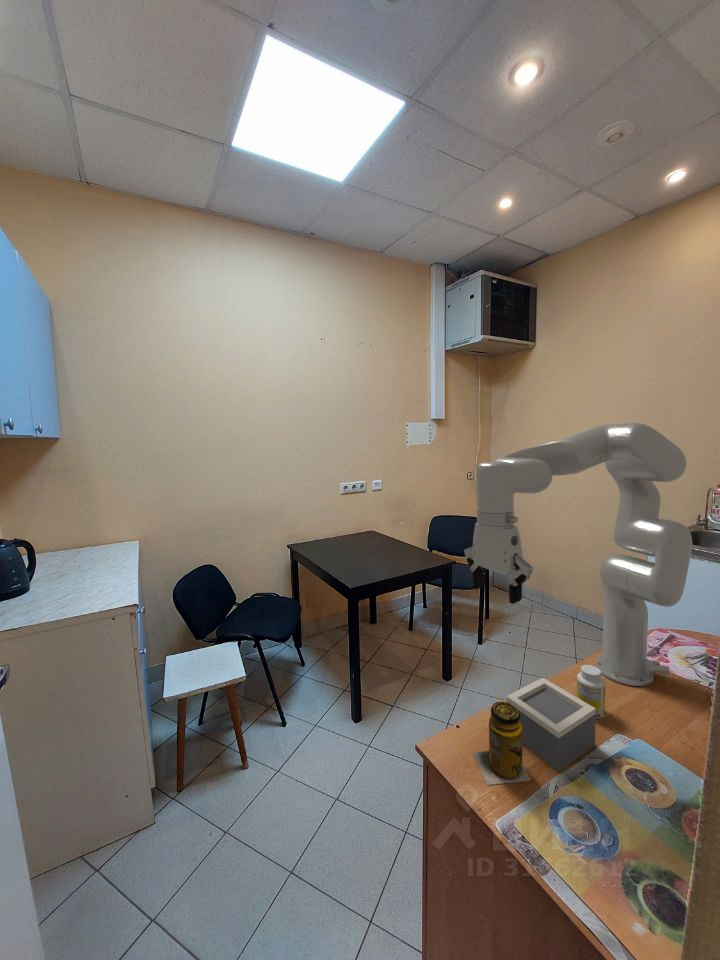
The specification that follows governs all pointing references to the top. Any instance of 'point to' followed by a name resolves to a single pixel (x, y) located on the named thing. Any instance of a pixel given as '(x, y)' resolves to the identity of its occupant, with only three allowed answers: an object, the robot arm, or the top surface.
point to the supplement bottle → (592, 688)
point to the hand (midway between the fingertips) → (496, 594)
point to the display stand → (554, 722)
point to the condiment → (503, 747)
